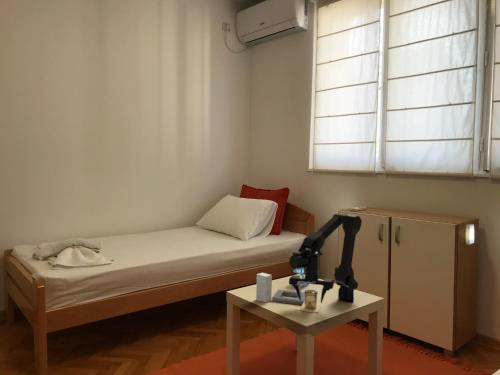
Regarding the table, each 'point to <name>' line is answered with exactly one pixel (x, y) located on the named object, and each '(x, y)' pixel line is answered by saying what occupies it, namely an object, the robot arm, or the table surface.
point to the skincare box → (264, 287)
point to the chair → (301, 272)
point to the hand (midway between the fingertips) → (310, 301)
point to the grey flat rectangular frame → (279, 298)
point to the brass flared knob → (310, 299)
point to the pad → (310, 310)
